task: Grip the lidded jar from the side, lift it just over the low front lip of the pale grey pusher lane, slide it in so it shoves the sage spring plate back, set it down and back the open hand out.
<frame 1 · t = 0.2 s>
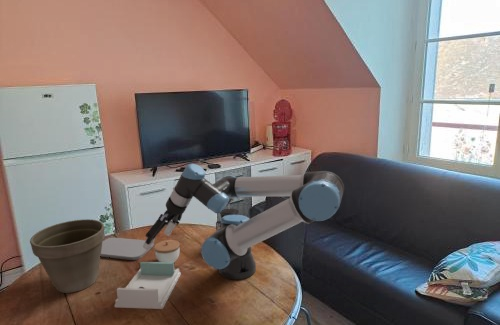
hand: (156, 241, 134), 15 cm above the table, tool tilted 35°, fingers open, 13 cm apart
pusher lane: (150, 289, 127), on the table
pusher plate: (157, 268, 134), point 4 cm above the table, slide at 0.0 cm
tablet: (123, 251, 159), on the table
french press: (229, 245, 161), on the table
lidded jar: (168, 262, 147), on the table
plant pot: (76, 283, 133), on the table
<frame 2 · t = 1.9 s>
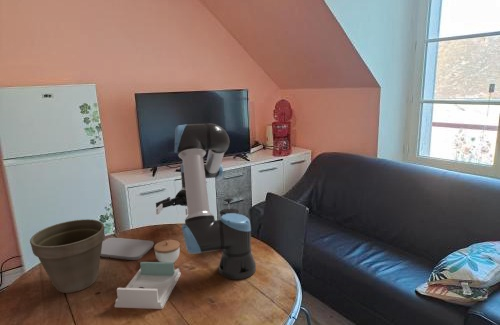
hand: (171, 211, 153), 19 cm above the table, tool horizontal, fingers open, 13 cm apart
nothing on the table moved.
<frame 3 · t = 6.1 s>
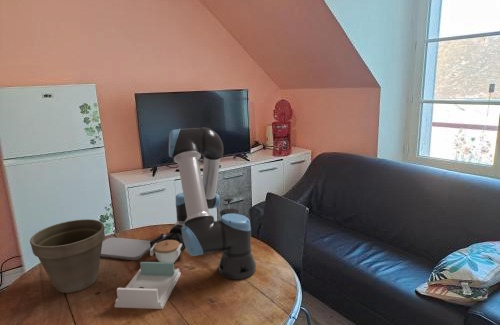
hand: (164, 253, 142), 6 cm above the table, tool horizontal, fingers closed on lidded jar, 11 cm apart
lidded jar: (168, 261, 147), on the table, touching gripper
everything else where it was.
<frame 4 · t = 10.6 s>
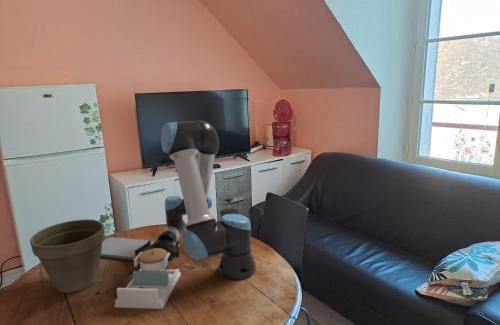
hand: (149, 263, 128), 9 cm above the table, tool horizontal, fingers closed on lidded jar, 11 cm apart
pusher plate: (151, 277, 128), point 4 cm above the table, slide at 6.8 cm, touching lidded jar
lidded jar: (154, 272, 134), point 3 cm above the table, touching gripper, pusher plate
everything else where it was.
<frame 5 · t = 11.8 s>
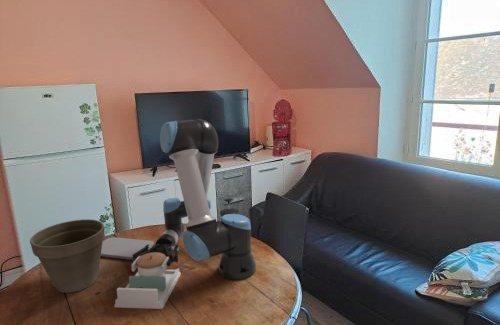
hand: (147, 268, 125), 9 cm above the table, tool horizontal, fingers closed on lidded jar, 11 cm apart
pusher plate: (147, 283, 124), point 4 cm above the table, slide at 10.3 cm, touching lidded jar
lidded jar: (153, 277, 130), point 3 cm above the table, touching gripper, pusher plate
everything else where it was.
when the fingers open (8 cm above the table, at t = 12.8 s): lidded jar stays where it is, resting on pusher lane, pusher plate.
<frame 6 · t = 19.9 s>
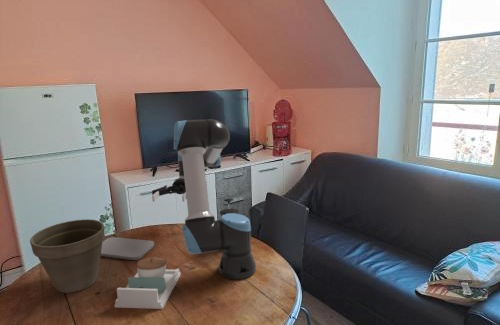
hand: (168, 198, 150), 26 cm above the table, tool horizontal, fingers open, 13 cm apart
pusher plate: (146, 284, 124), point 4 cm above the table, slide at 11.2 cm, touching lidded jar
lidded jar: (151, 282, 129), point 2 cm above the table, touching pusher lane, pusher plate
everything else where it was.
at the end: pusher plate slide at 11.2 cm; lidded jar 2.1 cm from the pusher lane (horizontally); lidded jar tilted 11° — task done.
